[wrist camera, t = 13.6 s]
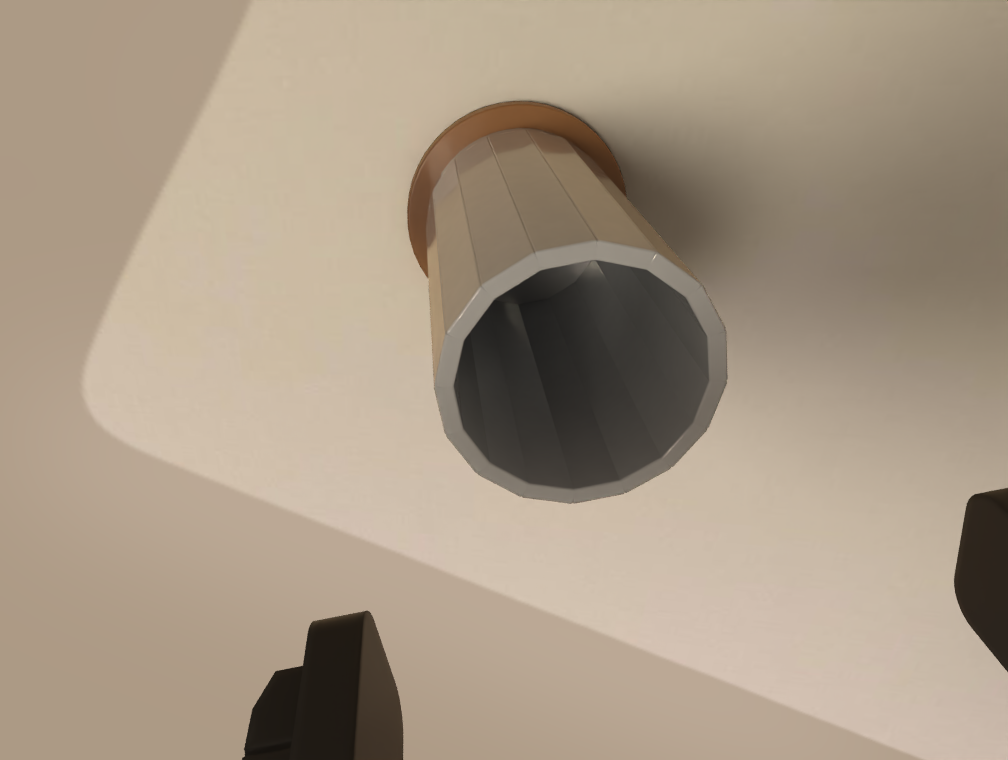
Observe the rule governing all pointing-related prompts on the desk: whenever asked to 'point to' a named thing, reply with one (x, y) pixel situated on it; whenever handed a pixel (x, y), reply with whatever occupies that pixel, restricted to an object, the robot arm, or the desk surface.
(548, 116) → the coaster
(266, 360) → the desk surface
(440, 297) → the steel cup
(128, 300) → the desk surface
